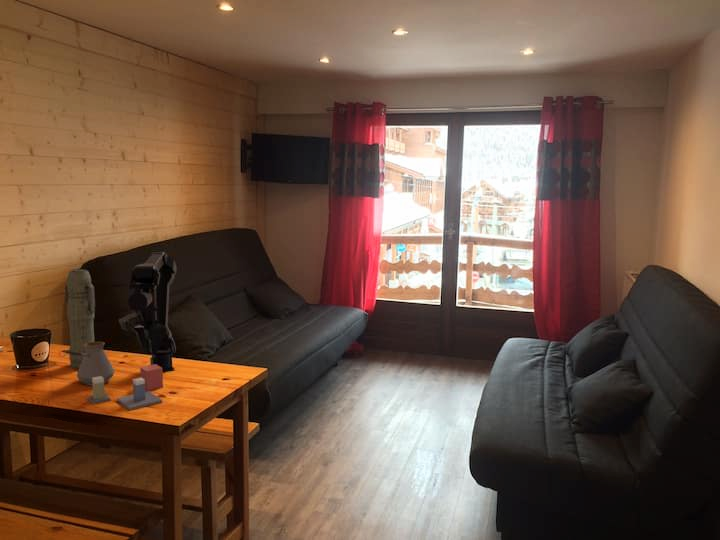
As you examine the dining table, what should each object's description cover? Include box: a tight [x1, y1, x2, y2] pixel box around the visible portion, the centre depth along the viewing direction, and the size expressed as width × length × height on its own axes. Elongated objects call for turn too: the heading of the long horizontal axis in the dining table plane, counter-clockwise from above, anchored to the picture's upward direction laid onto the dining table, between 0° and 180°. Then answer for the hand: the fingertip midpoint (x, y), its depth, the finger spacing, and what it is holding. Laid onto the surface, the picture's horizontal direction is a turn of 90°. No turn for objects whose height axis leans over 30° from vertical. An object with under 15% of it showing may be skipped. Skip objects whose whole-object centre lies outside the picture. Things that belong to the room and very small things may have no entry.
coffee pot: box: [58, 341, 115, 386], centre depth 190 cm, size 21×12×15 cm, turn 168°
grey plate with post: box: [116, 377, 163, 411], centre depth 178 cm, size 10×10×7 cm
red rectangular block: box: [139, 364, 164, 391], centre depth 191 cm, size 5×5×7 cm
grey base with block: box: [87, 376, 111, 405], centre depth 179 cm, size 5×5×7 cm
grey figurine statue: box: [64, 268, 96, 370], centre depth 210 cm, size 9×12×35 cm
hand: (148, 351), depth 190 cm, fingers open, 9 cm apart
